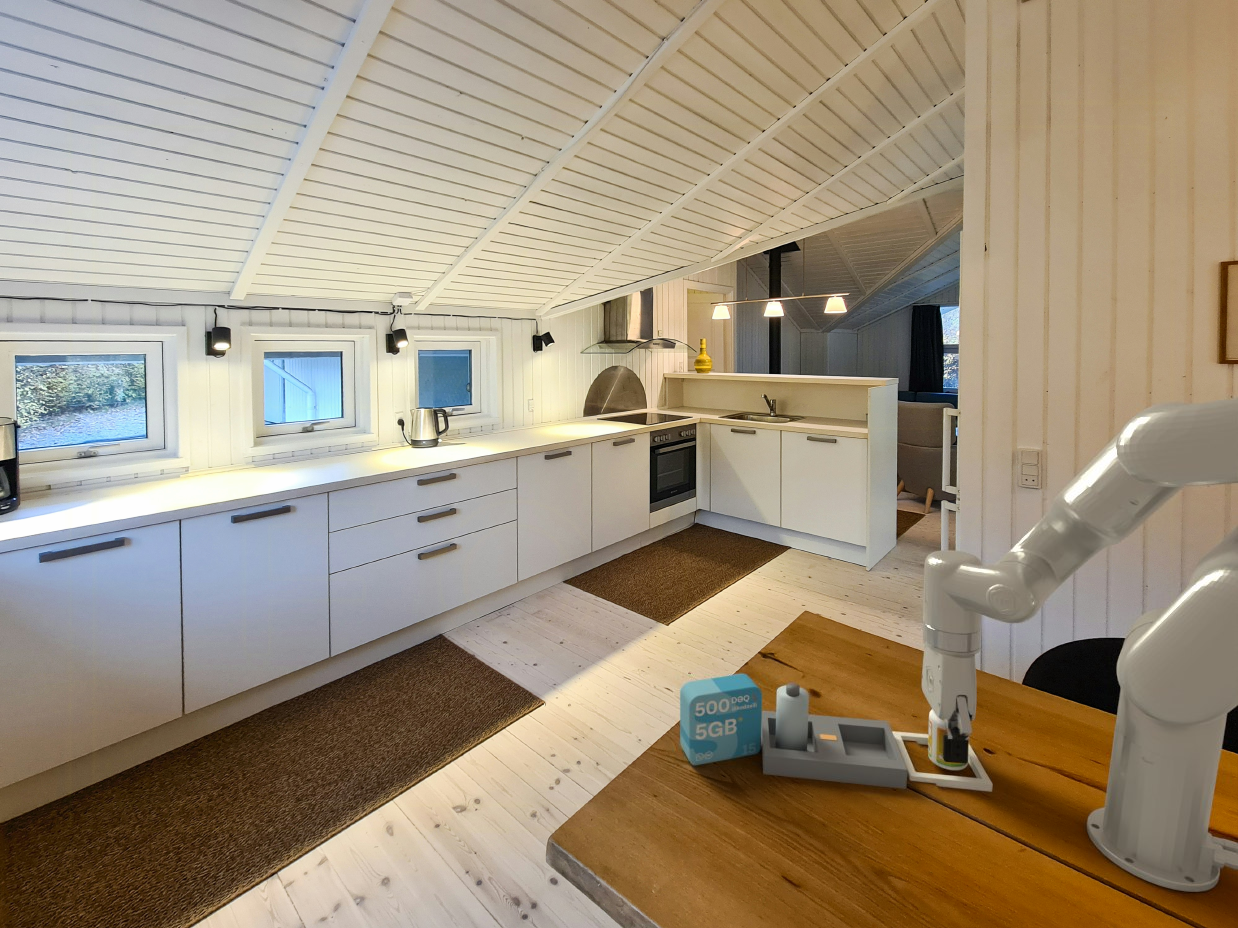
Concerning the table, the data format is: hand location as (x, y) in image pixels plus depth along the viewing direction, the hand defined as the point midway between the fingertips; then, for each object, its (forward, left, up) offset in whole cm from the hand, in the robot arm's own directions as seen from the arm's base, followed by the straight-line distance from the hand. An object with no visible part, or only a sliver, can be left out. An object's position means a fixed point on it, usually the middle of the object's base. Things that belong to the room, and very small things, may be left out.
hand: (948, 747), depth 94 cm
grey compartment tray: (+16, +7, -3) cm, 18 cm away
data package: (+31, +14, -3) cm, 34 cm away
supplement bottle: (0, 0, -2) cm, 2 cm away
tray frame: (+1, 0, -3) cm, 3 cm away
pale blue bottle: (+21, +9, -3) cm, 23 cm away
